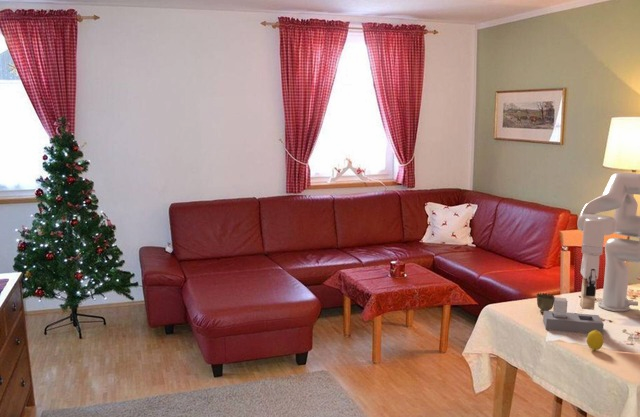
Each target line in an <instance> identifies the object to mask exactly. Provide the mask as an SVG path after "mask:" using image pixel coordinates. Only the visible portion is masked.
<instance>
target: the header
mask: <svg viewBox="0 0 640 417" xmlns="http://www.w3.org/2000/svg"><path fill="white" fill-rule="evenodd" d="M542 321H543V325H544V328H545V330H546V331H554V332H555V331H556V332H567V333H577V334H587V335H588V334H589V333H590V332H591V331H594V330H597V331H599V332H600V333H601V334H602V336H603V335H604V322H603V320H602V319H601V317H600V315H598V314H587V313H578V312H577V313H576V312H567V315H566V319H565V318H554V317H553V310H549V311H544V313H543V316H542Z"/></svg>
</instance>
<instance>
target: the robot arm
mask: <svg viewBox="0 0 640 417" xmlns="http://www.w3.org/2000/svg"><path fill="white" fill-rule="evenodd" d="M634 195H639V196H640V173H629V172H615V173H613V174H612V175H611V176H610V178H609V179H608V181H607V184H606V185H605V188H604V190H603V192H602V194H601V195H600V196H598V197H596V198H594V199H592V200H590V201H589V202H587V203H586V204H585V205H584V206H583V208H582V210H581V212H580V213H579V216H578V218H577V222H576V223H577V224H576V225H577V228H578V230H579V231H581V232H583V233H582V239H581V240H582V242H581V253H582V257H581V258H582V259H581V265H580V274H581V276H582V279H583V278H585V279H586V278H587V286H586V296H595V297H596V295H595V288H596V289H597V284H596V282H597V280H598V279H599V271H600V270H599V269H600V256H602V255H603V251H604V254H605V266H604V267H605V268H604V279H603V280H604V281H603V288H602V299H601V300H600V301H598V302H597V305H598V307H600V308H601V309H604V310H607V311H611V312H612V311H613V312H620V313H621V312H627V311H630V306H633V307H634V306H635V307H639V301H634V300H633V299H628V297H627V296H628V287H629V275H630V269H629V266H628V265H627V263H626V262H630V263H635V264H640V215H638V213H637V212H638V205H639V204H638V201H637V200H636V198H635V197H634ZM609 211H614V216H613V217H612V216H607V215H602V214H601V215H600V214H598V213H605V212H609ZM613 234H615V235H619V236H625V237H630V238H631V237H632V238H637V239H638V240H633V239H628V238H622V237H621V238H620V237H611V238H609V239H607V240H606V242H605V244H604V240H605V236H610V235H613ZM589 280H591V281H590V283H589ZM595 286H596V287H595Z"/></svg>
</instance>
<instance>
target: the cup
mask: <svg viewBox="0 0 640 417" xmlns="http://www.w3.org/2000/svg"><path fill="white" fill-rule="evenodd" d="M554 297H555V295H553V293H551V294H550V293H548V294H547V292H546V293H545V292H543V293H541V292H540V293H539V292H538V293H536V304H537V307H538V309H540V310H539V311H540V313H543V314H544V311H552V310H553V308H554Z"/></svg>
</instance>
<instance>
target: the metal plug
mask: <svg viewBox="0 0 640 417" xmlns="http://www.w3.org/2000/svg"><path fill="white" fill-rule="evenodd" d="M552 311H553V317H554V318H565V319H566V315H567V313H568V312H567V311H568V300H567V297H558V296H554V304H553V307H552Z"/></svg>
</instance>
